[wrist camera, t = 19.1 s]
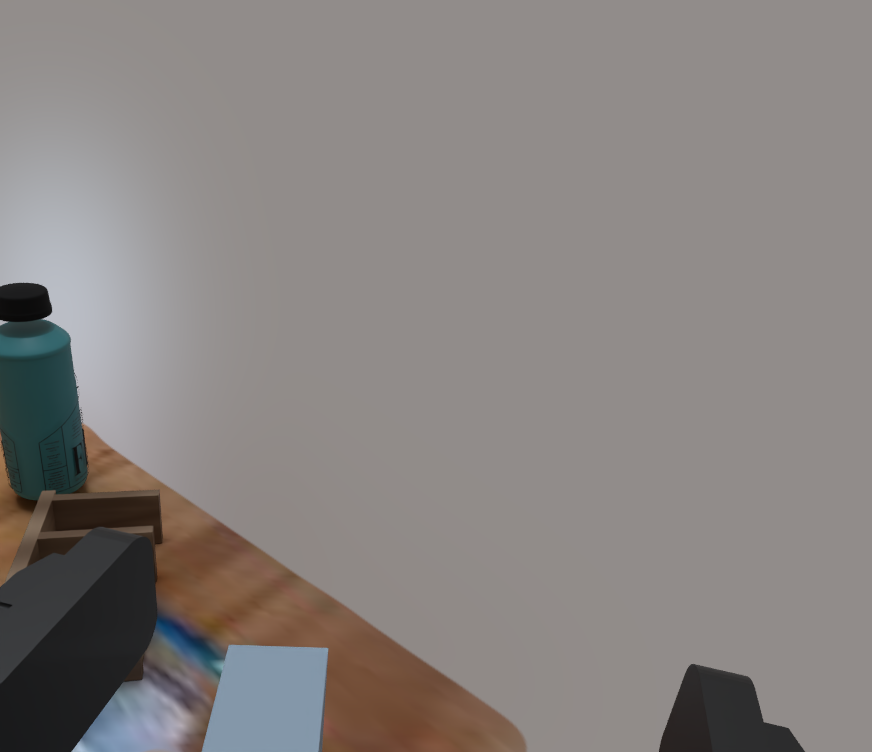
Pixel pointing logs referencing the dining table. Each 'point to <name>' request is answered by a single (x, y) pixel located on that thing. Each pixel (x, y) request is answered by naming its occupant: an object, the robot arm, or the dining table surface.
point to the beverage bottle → (38, 397)
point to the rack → (88, 526)
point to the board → (269, 700)
